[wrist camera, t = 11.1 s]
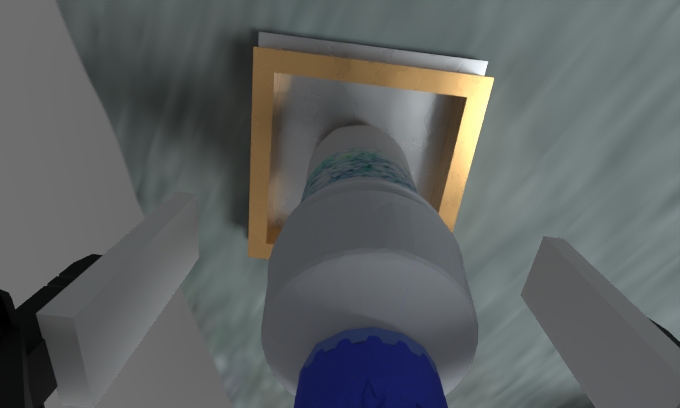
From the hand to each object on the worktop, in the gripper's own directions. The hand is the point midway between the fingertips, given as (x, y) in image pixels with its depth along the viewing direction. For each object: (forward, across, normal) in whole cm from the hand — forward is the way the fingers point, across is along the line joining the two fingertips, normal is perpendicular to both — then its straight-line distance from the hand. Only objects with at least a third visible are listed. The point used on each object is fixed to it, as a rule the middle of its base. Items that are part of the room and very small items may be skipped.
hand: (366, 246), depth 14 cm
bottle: (+12, 0, -1) cm, 12 cm away
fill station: (+13, 0, -1) cm, 13 cm away
